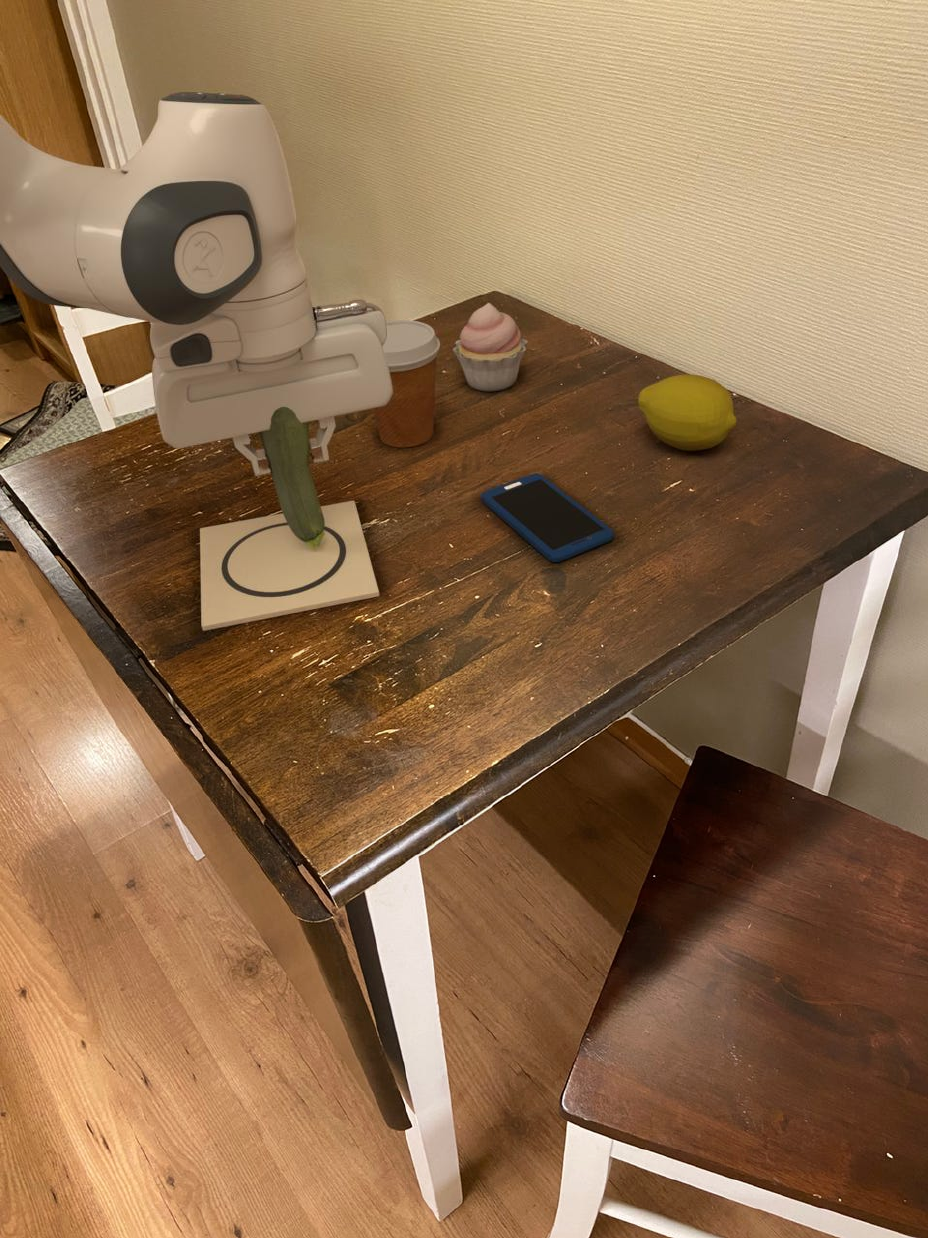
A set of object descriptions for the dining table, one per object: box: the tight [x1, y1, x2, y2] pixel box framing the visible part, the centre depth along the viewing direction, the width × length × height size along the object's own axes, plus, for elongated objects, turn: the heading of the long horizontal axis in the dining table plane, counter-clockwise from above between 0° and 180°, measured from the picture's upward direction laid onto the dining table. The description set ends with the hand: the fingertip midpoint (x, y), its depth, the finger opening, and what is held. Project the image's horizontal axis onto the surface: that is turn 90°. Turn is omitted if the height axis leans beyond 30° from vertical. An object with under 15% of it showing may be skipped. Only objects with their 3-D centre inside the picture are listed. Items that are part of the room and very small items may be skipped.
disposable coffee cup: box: [371, 319, 441, 448], centre depth 100 cm, size 10×10×12 cm
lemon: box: [637, 374, 738, 452], centre depth 95 cm, size 11×8×8 cm
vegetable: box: [259, 407, 325, 550], centre depth 80 cm, size 4×4×20 cm
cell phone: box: [480, 473, 615, 563], centre depth 88 cm, size 7×14×1 cm, turn 30°
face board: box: [199, 500, 380, 632], centre depth 85 cm, size 16×16×1 cm
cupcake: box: [452, 302, 529, 392], centre depth 109 cm, size 9×9×10 cm
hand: (291, 465), depth 81 cm, fingers closed on vegetable, 4 cm apart
